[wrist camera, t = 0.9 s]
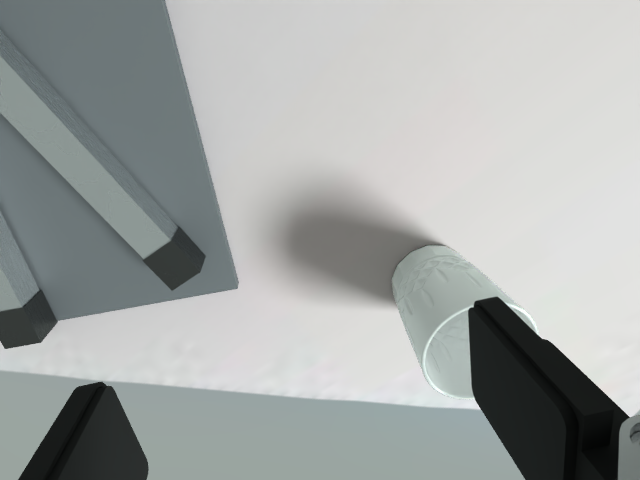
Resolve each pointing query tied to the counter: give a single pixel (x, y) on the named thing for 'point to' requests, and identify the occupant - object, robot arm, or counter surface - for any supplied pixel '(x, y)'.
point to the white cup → (444, 313)
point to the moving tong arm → (93, 169)
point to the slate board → (122, 141)
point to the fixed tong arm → (20, 297)
